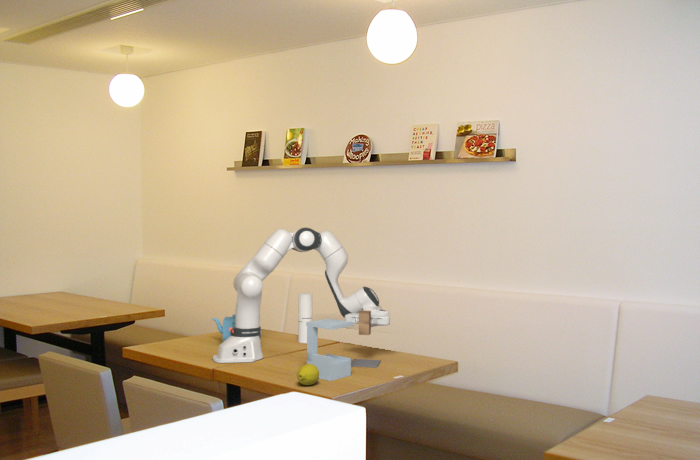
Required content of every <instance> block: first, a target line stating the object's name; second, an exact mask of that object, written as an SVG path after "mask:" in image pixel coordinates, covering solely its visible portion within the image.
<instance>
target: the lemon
mask: <svg viewBox="0 0 700 460" xmlns="http://www.w3.org/2000/svg"><path fill="white" fill-rule="evenodd" d="M296 378H297V381H298V382H299V383H300V384H302V385H303V386H311V385H314V384H316V382H317V381H318V380H319V379H320V378H319V370H318V368H317V367H316V366H315V365H313V364H307V363H306V364H303V365H301V366H300V367H299V368H298V369H297V373H296Z"/></svg>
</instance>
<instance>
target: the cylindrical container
mask: <svg viewBox="0 0 700 460" xmlns="http://www.w3.org/2000/svg"><path fill="white" fill-rule="evenodd" d="M310 321H313V292H299V293H298V325H297V326H298V334H297V335H298V336H297V337H298V340H297V341H298V343H299V342H300V344H307V326H306V322H310Z"/></svg>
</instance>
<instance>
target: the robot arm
mask: <svg viewBox="0 0 700 460" xmlns="http://www.w3.org/2000/svg"><path fill="white" fill-rule="evenodd" d="M291 250H293V251H296V252H298V253H307V252H310V251H312V250H315V251H317V252H318V253H319V255H320V257H321V258H322V259H323V261H324V263H325V271H324V276H325V279H326V282H327V284H328V286H329V288H330V291H331V293H332V295H333V298H334V300H335V303H336V305H337V308H338V310H339V313H340V315H341V316H342V317H343V318H344V321H349V322H354V325H356V324H358V325H359V311H361V310H366V311H371V319H370V324H371V328H374V327H379V326H380V327H382V326H390V324H391V323H390V322H391V314H390V312H389V310H386V309H385V310H384V309H383V307H382V306H381V305H380V299H379V297H378V295H377V293H376V292H375V291H374V290H373V289H372V288H371V287H367V286H362V287H360V288H359V289H358V290H356V291H354V292H353V293H351V294H350V295H348V296H345V295H344V293H343V290H342V288H341V286H340V284H339V277H340V275H341V274H342V271H344V269H345V268H346V266H347V264H348V261H349V255H348V253H347V251H346V248H345V247H344V246H343V244H342V243H341V242H340V240H339V239H338V238H337V237H336V236H335V234H334V233H333V232H331V231H330V230H323V231H320V232H318V231H316V230H314V229H313V228H310V227H301V228H299V229H297V230H295V231H294V232H290V231H289V230H287V229H285V228H277V229H276V230H275V231H274V232H273V233H272V234H271V235H270V236H269V237H268V238H267V239H266V240H265V241H264V242H263V244H262V245H261V246H260V248H259V249H258V251H256V253H255V254H254V256H253V257H252V258H251V259H250V260H249V261H248V262H247V263H246V264H245V265H244V266H243V267H242V268H241V269H240V270H239V272H238V273H237V274H236V275H235V277H234V279H233V283H232V284H233V288H234V290H235V291H236V293H237V294H236V304H235V311H234V313H235V327H234V328H232V327H230V328H229V331H230V332H231V336H230V337H229V338H227V339H226V340H225V341H224V342H223V341H222V342H221V343H220V344H219V346H218V349H217V354H214V355H213V356H212V361H213V362H214V363H218V364H227V363H228V364H230V363H231V364H233V363H254V362H255V361H259V360H262V359H263V358H264V354H263V351H262V345H261V344H262V343H261V338H262V329H261V303H262V297H263V296H262V295H263V288H264V286H263V285H264V284H263V281H264V280H265V279H266V278H267V277H268V276H269V275H270V274H272V273H273V272H274V270H276V268H277V267H278V265H279V264H280V263H281V261H282V260H283V259H284V257H285V256H286V254H287V253H288V252H289V251H291Z"/></svg>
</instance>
